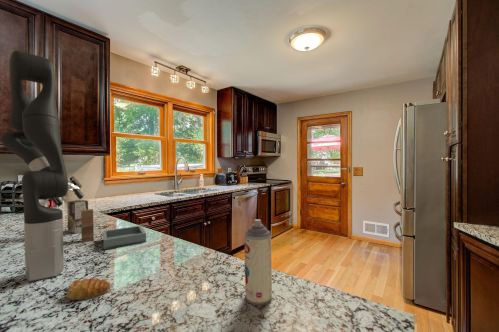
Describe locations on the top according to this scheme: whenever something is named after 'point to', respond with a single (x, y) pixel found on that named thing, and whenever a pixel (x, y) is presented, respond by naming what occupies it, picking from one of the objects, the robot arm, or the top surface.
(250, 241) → the aerosol can
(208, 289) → the top surface
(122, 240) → the slate tray
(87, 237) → the walnut block
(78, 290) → the pastry
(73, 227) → the coffee box
